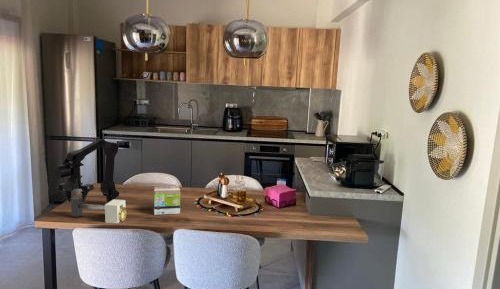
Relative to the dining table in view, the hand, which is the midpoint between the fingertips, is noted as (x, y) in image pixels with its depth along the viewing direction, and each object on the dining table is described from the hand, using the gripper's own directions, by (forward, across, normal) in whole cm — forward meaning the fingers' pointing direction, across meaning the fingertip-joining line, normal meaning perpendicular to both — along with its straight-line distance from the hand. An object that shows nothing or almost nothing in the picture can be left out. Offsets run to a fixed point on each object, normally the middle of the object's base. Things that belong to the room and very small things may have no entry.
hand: (76, 201), depth 215 cm
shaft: (+8, +11, 0) cm, 13 cm away
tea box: (+9, +46, +18) cm, 50 cm away
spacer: (+5, +27, 0) cm, 28 cm away
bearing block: (+9, +23, 0) cm, 25 cm away
